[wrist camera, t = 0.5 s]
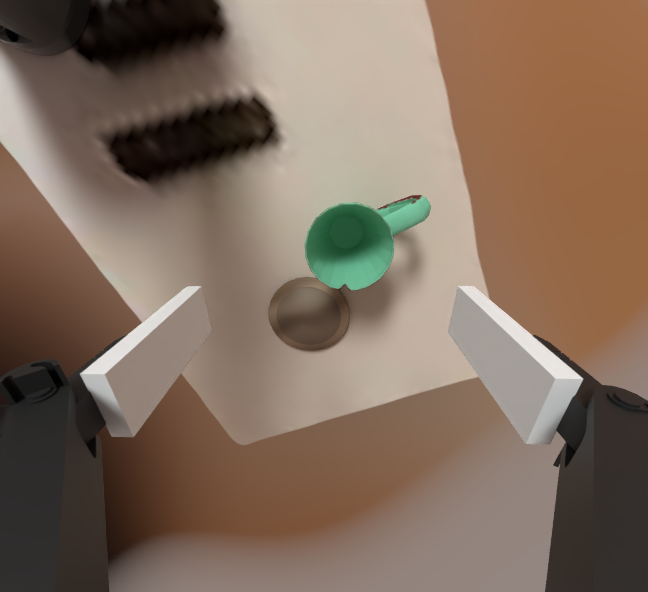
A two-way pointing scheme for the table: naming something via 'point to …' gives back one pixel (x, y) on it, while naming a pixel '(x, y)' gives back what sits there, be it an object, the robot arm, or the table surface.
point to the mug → (359, 240)
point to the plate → (308, 314)
